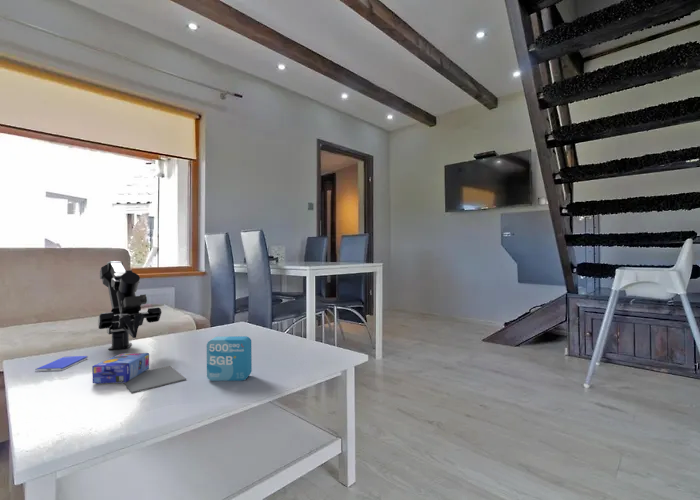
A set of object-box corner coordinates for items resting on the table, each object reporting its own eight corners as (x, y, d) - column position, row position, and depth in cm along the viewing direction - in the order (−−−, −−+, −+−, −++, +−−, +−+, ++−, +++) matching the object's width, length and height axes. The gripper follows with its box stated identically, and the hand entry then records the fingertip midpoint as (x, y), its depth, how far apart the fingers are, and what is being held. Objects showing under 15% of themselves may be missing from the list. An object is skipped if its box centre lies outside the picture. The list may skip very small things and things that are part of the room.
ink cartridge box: (149, 351, 112) (120, 367, 98) (150, 368, 112) (121, 387, 98) (118, 352, 112) (84, 368, 98) (119, 369, 112) (85, 388, 98)
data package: (206, 381, 102) (206, 340, 102) (212, 375, 107) (212, 336, 107) (247, 380, 102) (247, 339, 102) (251, 375, 107) (251, 336, 107)
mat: (119, 377, 106) (119, 376, 106) (169, 366, 115) (169, 365, 115) (131, 393, 94) (131, 391, 94) (186, 379, 103) (186, 378, 103)
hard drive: (63, 356, 124) (35, 368, 112) (87, 355, 125) (62, 367, 113) (63, 360, 124) (35, 373, 112) (87, 360, 125) (62, 372, 113)
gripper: (99, 289, 118) (104, 327, 110) (159, 285, 131) (169, 319, 123) (95, 310, 124) (100, 347, 116) (154, 304, 137) (162, 337, 129)
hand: (134, 337), depth 121 cm, fingers closed
